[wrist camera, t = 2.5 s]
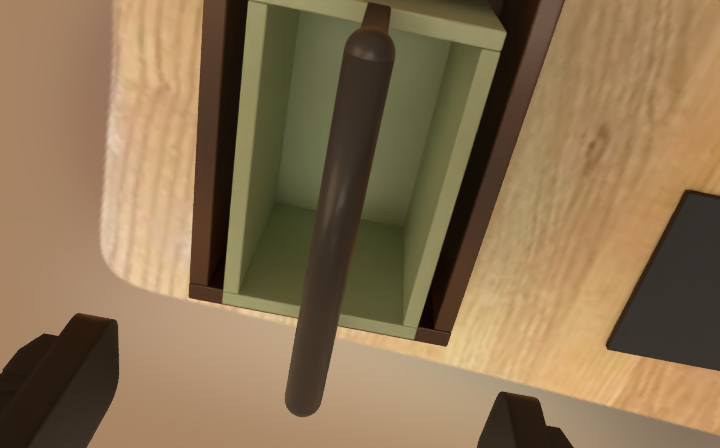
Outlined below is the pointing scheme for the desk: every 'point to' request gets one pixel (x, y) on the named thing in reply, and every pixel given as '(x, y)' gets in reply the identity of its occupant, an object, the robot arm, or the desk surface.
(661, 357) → the mat
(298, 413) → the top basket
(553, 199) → the desk surface
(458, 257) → the open wooden box
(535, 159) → the desk surface
